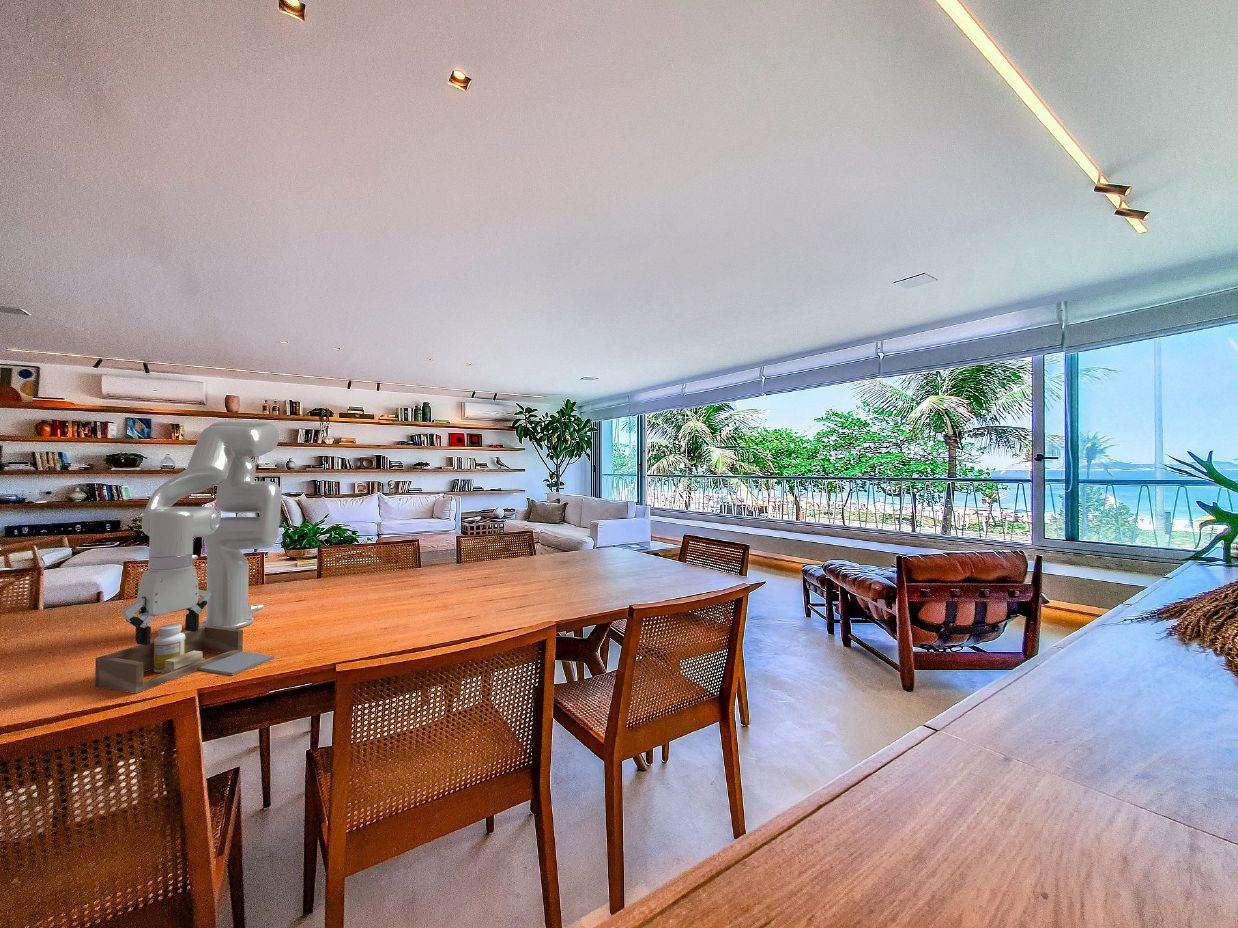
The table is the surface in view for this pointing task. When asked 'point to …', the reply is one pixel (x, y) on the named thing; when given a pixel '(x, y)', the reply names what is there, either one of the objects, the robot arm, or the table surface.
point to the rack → (131, 663)
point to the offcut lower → (165, 671)
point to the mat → (236, 663)
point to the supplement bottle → (168, 645)
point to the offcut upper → (183, 660)
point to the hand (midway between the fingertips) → (168, 637)
